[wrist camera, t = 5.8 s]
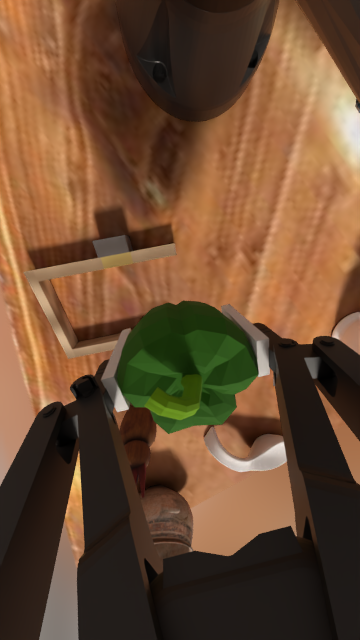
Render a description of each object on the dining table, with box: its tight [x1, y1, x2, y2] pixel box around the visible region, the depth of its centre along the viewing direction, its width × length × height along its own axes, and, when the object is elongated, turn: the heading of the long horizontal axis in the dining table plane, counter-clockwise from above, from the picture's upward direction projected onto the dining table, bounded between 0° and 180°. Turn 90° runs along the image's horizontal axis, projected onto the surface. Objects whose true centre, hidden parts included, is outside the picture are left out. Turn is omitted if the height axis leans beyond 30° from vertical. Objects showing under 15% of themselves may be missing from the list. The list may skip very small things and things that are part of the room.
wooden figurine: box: [119, 406, 156, 498], centre depth 32 cm, size 7×6×15 cm
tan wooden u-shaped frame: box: [24, 235, 176, 359], centre depth 27 cm, size 18×20×4 cm
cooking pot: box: [139, 485, 193, 565], centre depth 46 cm, size 25×19×12 cm
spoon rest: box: [204, 427, 287, 472], centre depth 43 cm, size 24×12×7 cm, turn 69°
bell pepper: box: [117, 301, 259, 434], centre depth 13 cm, size 8×8×10 cm
